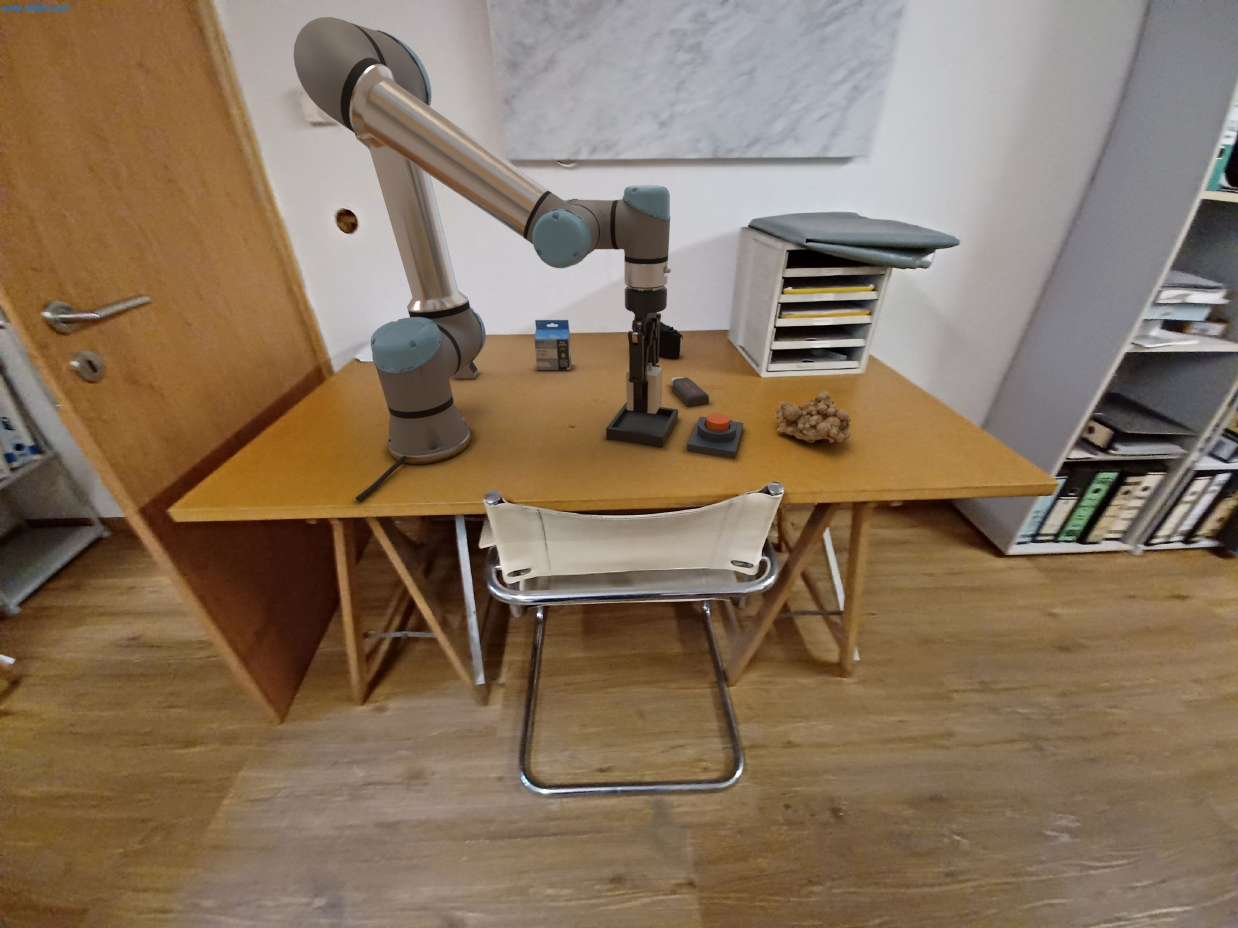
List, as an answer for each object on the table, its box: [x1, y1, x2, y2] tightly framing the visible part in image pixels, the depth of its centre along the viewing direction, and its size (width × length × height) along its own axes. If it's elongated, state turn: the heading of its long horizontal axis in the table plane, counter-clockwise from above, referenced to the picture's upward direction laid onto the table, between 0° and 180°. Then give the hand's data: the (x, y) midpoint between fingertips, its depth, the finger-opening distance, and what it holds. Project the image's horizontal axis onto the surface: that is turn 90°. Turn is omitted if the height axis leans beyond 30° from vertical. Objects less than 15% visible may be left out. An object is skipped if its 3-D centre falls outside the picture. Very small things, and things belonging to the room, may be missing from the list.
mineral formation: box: [773, 390, 852, 444], centre depth 97 cm, size 8×13×15 cm
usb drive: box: [670, 376, 710, 408], centre depth 116 cm, size 5×12×3 cm, turn 18°
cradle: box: [605, 401, 679, 449], centre depth 102 cm, size 13×12×2 cm
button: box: [706, 412, 731, 431], centre depth 97 cm, size 4×4×2 cm
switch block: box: [686, 416, 745, 460], centre depth 98 cm, size 12×9×4 cm
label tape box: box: [534, 319, 572, 371], centre depth 128 cm, size 9×4×12 cm, turn 88°
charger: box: [625, 363, 663, 414], centre depth 98 cm, size 4×6×9 cm
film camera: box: [659, 320, 684, 360], centre depth 140 cm, size 15×10×9 cm, turn 58°
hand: (644, 406), depth 100 cm, fingers closed on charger, 4 cm apart
